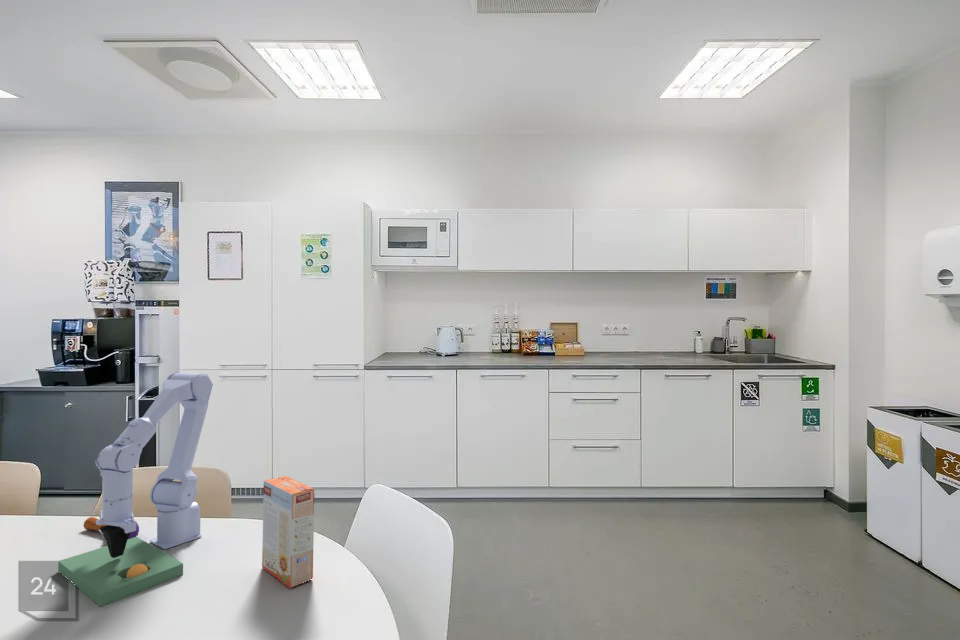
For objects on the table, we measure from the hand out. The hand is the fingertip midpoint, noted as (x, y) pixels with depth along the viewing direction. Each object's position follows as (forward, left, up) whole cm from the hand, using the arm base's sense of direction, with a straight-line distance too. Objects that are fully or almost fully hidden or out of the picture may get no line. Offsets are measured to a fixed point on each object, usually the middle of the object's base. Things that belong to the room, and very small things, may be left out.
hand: (116, 555), depth 117 cm
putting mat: (0, +2, -3) cm, 4 cm away
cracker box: (-22, +33, -4) cm, 40 cm away
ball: (0, +10, -1) cm, 10 cm away
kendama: (-7, -22, -4) cm, 23 cm away
